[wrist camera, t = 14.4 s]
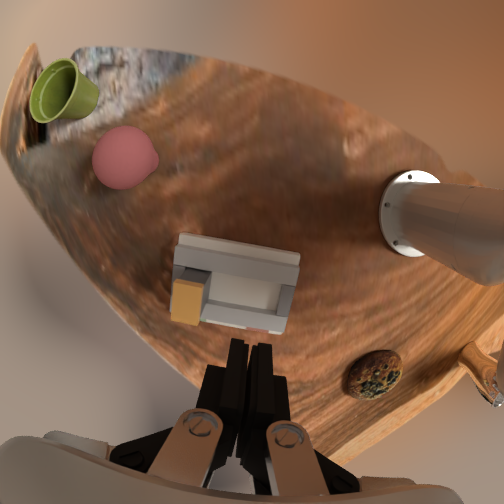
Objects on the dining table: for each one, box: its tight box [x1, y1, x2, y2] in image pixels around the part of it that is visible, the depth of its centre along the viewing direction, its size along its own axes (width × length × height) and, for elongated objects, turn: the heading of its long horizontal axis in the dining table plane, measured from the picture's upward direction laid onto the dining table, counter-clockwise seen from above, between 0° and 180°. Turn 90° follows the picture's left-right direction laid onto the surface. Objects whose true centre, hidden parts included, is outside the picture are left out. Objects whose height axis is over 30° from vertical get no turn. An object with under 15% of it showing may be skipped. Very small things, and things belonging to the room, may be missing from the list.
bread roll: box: [348, 350, 403, 400], centre depth 41 cm, size 11×11×5 cm
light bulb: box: [92, 126, 159, 190], centre depth 29 cm, size 7×7×12 cm
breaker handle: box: [171, 267, 212, 326], centre depth 34 cm, size 3×5×7 cm
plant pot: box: [30, 58, 99, 123], centre depth 28 cm, size 9×9×9 cm
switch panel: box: [170, 232, 300, 335], centre depth 38 cm, size 16×12×3 cm
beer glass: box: [457, 342, 504, 408], centre depth 34 cm, size 7×7×15 cm
